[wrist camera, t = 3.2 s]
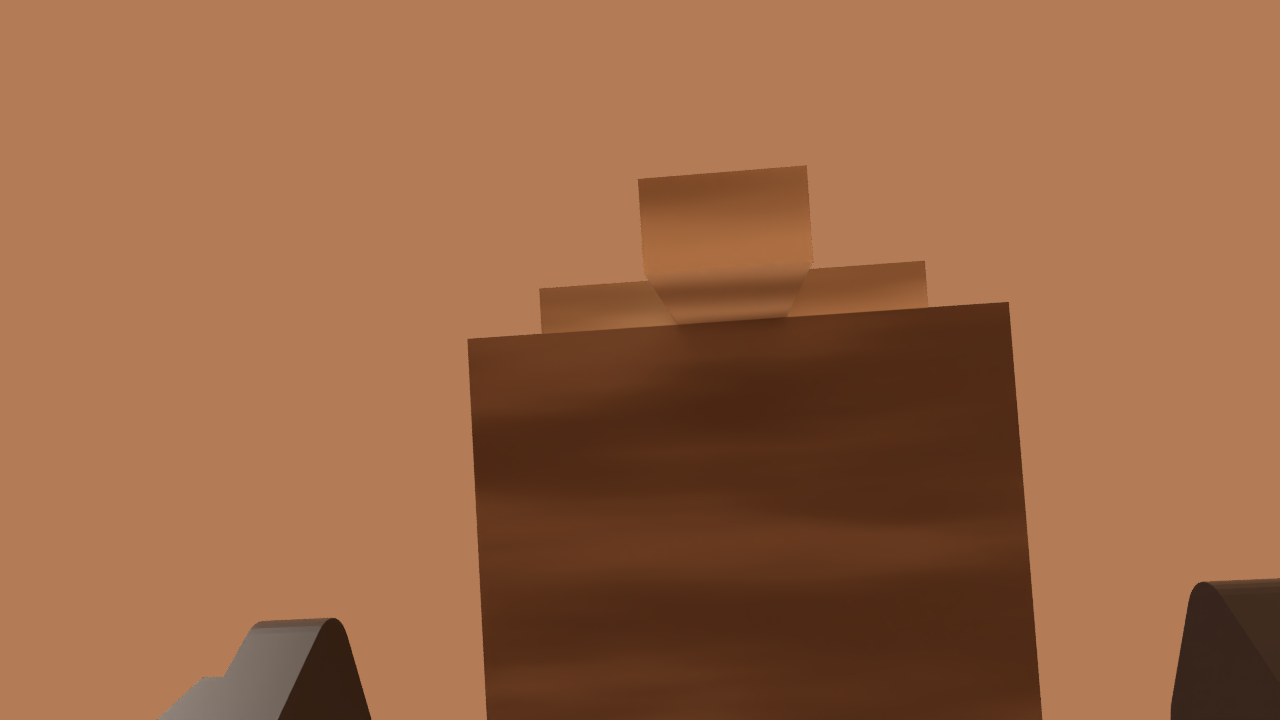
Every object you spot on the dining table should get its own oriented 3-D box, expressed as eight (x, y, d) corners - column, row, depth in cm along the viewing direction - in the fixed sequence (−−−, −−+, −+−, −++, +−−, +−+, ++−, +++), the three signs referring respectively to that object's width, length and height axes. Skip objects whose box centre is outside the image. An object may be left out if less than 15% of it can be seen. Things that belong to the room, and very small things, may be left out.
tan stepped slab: (1037, 244, 17) (1030, 147, 17) (433, 289, 18) (427, 195, 18) (867, 342, 40) (863, 299, 40) (604, 359, 41) (601, 318, 41)
